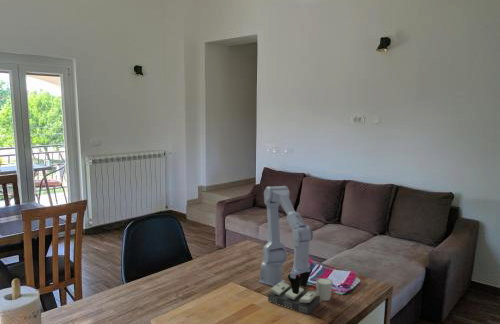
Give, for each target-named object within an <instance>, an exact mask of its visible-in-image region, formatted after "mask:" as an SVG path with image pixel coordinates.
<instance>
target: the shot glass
mask: <svg viewBox="0 0 500 324" xmlns="http://www.w3.org/2000/svg"><path fill="white" fill-rule="evenodd" d="M315 283H316V284H315V285H316V289H315V291H318V296H320V301H324V302H325V301H329V300H331V296H332V290H333V283H334V281H333V280H331V279H329V278H326V277H325V278H321V277H320V278H317V279H316V280H315Z"/></svg>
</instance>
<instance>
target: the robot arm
mask: <svg viewBox="0 0 500 324" xmlns="http://www.w3.org/2000/svg"><path fill="white" fill-rule="evenodd" d="M290 195H291V194H290V190H289V188H288V186H287V185H281V186H280V185H279V186H277V185H276V186H271V185H269V186H266V188H265V189H264V191H263V199H264V200H263V201H264V204H265V206H266V215H267V234H268V236H267V237H268V242H267V243H266V244H265V245H264V246H263V247H262V248H263V249H262V263H261V265H260V267H259V268H260V269H259V270H260V271H259V281H258V283H260V284H261V283H262V284H263V285H267V286H271V287H274V286H275V285H277V284H278V283H279V282H281V281H283V282H285V283H286V280H285V279H283V277H282V276H283V275H282V274H283V265H285V262H286V261H287V258H288V255H287V250H286V246H285V244H284V243H282V242H281V235H280V219H279V207H280V206H281V208H282V209H283V211H284V212H285V214H286V221H287V223H288V225H289V227H290V229H291V231H292V233H291V236H292V240H293V242H292V244H293V246H294V248H293V249H294V252H293V266H292V269H291V271H290V273H289V274H288V275H287V279H288V281H289V282H290V287H291V288H292V292H293V293H295V294H298V292H299V287H303V288H306V287H307V285H308V282H309V278H310V276H311V274H312V272H313V269H312V268H311V263H310V262H309V257H310V256H309V254H310V241H312V240H313V238H314V232H313V229H312V228H311V226H309V225H308V224H306V223H305V222H304V220H303V218H302V216H301V214H300V212H297V211H295V209H294V206H293V203H292V201H291V199H290Z"/></svg>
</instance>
